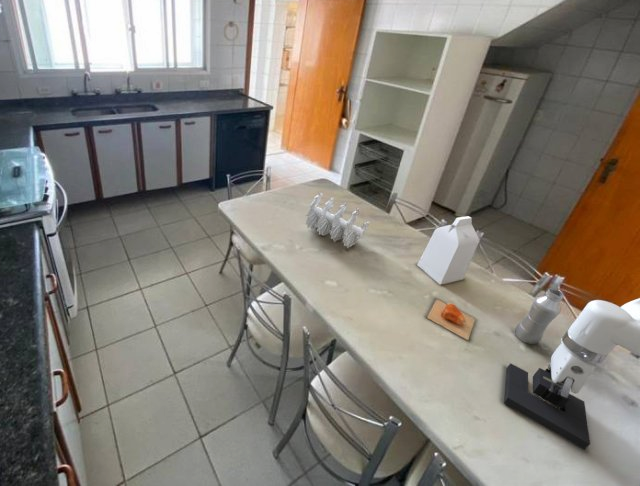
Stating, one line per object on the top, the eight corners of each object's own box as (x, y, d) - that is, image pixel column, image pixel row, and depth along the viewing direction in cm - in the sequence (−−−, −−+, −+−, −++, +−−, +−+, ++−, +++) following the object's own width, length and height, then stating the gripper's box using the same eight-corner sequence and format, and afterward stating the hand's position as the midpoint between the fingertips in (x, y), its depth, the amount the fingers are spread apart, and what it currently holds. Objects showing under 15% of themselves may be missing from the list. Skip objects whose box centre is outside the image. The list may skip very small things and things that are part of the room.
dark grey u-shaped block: (579, 406, 87) (584, 401, 86) (584, 449, 78) (590, 444, 77) (506, 368, 96) (510, 362, 94) (503, 403, 86) (507, 397, 85)
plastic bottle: (540, 340, 105) (573, 295, 96) (532, 350, 102) (566, 304, 93) (517, 326, 110) (546, 281, 101) (509, 335, 106) (539, 289, 97)
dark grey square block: (560, 391, 88) (568, 381, 86) (561, 408, 84) (570, 399, 82) (532, 376, 91) (539, 367, 89) (532, 392, 87) (539, 383, 85)
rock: (467, 340, 103) (473, 331, 101) (426, 318, 110) (431, 309, 109) (475, 319, 111) (480, 310, 109) (436, 299, 118) (440, 290, 117)
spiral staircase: (350, 260, 141) (301, 232, 155) (370, 231, 149) (321, 207, 162) (353, 237, 128) (299, 209, 142) (374, 207, 135) (321, 183, 149)
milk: (439, 260, 139) (462, 208, 127) (463, 279, 129) (490, 224, 117) (417, 265, 135) (439, 211, 123) (440, 284, 126) (466, 228, 114)
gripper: (611, 382, 71) (568, 428, 79) (600, 332, 83) (563, 376, 91) (566, 360, 75) (529, 406, 83) (561, 316, 87) (530, 360, 95)
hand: (547, 390), depth 87 cm, fingers closed on dark grey square block, 6 cm apart
